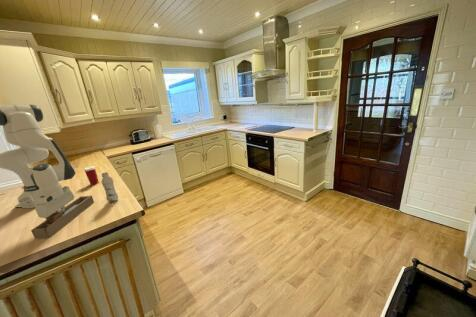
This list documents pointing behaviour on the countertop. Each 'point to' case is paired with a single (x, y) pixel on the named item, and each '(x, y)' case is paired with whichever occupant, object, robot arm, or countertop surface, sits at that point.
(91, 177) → the paper cup
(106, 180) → the plastic bottle
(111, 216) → the countertop surface
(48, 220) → the block
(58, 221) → the long grey tray
